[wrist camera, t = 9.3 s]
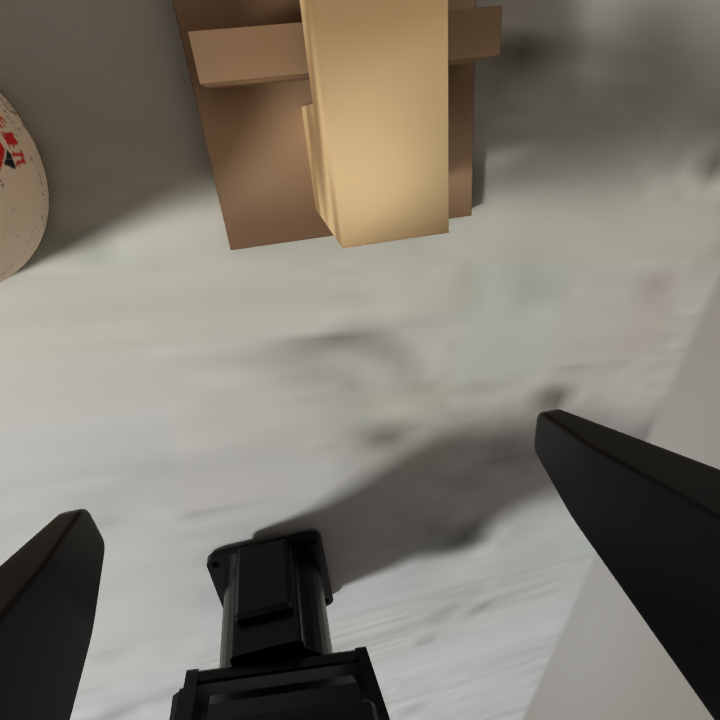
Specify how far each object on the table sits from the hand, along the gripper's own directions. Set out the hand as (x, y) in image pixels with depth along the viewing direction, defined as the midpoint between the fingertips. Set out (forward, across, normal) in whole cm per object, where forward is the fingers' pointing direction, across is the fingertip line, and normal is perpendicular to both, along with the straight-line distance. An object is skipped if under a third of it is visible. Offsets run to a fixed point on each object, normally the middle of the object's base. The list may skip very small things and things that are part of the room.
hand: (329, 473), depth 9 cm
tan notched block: (+12, -3, -8) cm, 14 cm away
